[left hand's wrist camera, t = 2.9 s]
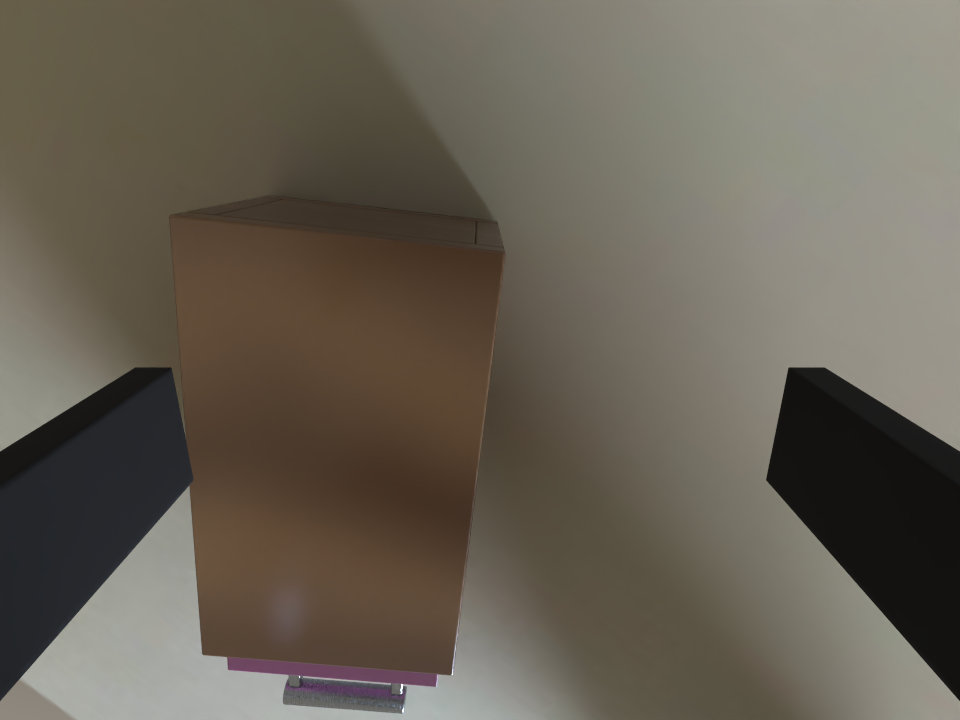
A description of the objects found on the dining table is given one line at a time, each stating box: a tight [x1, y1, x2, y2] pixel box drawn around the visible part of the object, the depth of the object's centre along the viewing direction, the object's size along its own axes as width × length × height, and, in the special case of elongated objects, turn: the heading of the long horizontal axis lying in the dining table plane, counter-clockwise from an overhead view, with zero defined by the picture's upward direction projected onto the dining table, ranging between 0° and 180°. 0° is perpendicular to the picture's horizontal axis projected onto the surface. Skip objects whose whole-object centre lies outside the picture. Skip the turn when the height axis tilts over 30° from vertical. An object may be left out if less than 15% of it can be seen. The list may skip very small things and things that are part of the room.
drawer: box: [227, 657, 438, 714], centre depth 27 cm, size 23×10×7 cm, turn 174°
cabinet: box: [169, 196, 505, 675], centre depth 25 cm, size 18×11×9 cm, turn 174°
